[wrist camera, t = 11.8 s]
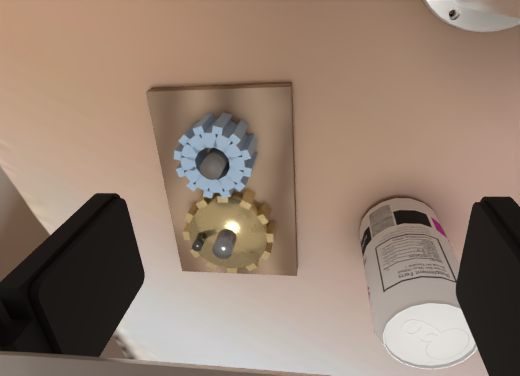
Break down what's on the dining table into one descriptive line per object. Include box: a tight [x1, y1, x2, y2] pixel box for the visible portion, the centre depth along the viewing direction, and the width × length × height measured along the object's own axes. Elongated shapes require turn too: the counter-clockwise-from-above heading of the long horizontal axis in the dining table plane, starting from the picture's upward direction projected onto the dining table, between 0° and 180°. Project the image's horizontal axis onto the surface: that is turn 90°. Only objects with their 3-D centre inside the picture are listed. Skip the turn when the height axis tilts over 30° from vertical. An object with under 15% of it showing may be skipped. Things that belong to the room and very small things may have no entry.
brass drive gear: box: [182, 188, 276, 273], centre depth 41 cm, size 10×10×5 cm
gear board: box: [146, 83, 298, 276], centre depth 40 cm, size 14×22×6 cm, turn 4°
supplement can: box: [359, 198, 477, 370], centre depth 36 cm, size 8×8×15 cm
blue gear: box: [174, 112, 258, 199], centre depth 37 cm, size 7×7×4 cm
